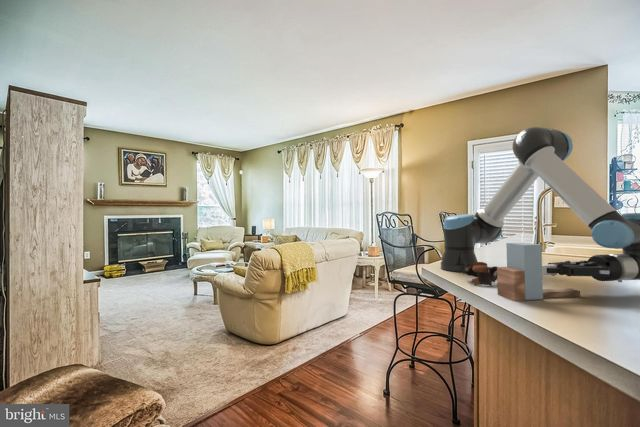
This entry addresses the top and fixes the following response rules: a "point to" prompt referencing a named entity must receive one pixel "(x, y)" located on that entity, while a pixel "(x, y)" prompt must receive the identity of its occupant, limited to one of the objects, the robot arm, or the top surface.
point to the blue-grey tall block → (527, 266)
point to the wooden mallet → (514, 286)
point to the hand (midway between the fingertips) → (533, 270)
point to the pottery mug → (481, 273)
